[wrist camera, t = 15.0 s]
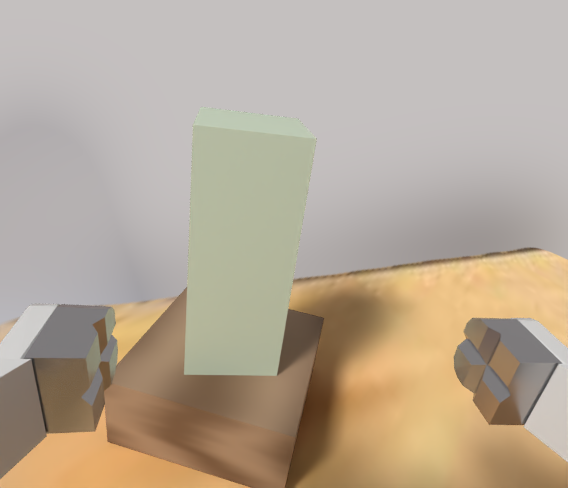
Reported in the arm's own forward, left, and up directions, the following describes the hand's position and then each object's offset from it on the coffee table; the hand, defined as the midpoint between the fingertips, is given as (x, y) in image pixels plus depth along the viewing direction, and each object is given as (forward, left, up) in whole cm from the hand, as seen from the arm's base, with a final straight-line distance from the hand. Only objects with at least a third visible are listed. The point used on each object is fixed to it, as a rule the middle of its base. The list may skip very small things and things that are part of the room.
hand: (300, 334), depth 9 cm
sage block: (+5, -11, -10) cm, 16 cm away
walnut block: (+5, -11, -15) cm, 19 cm away
